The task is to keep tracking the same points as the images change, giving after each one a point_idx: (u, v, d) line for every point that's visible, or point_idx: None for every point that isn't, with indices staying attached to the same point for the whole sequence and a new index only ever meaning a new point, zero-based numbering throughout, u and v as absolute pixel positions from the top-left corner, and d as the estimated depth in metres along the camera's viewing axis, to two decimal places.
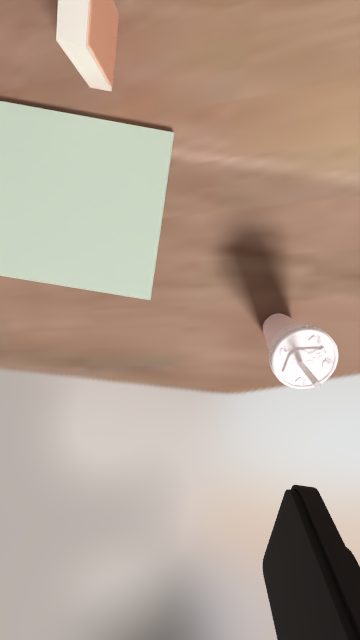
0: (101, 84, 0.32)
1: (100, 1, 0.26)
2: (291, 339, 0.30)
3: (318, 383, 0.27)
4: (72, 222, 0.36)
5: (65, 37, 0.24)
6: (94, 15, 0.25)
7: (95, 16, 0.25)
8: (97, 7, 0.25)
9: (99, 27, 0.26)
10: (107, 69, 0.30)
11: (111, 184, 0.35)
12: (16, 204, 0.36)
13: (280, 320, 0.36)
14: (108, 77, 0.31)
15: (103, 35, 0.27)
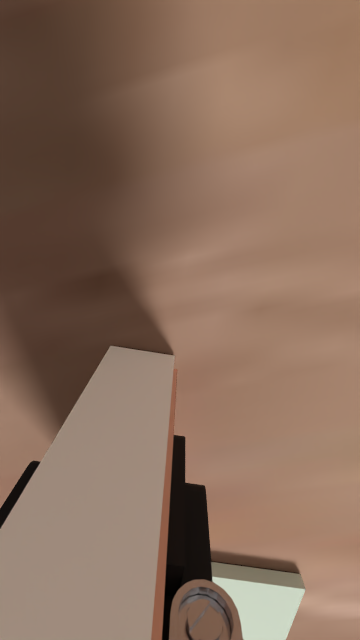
0: None
1: None
2: None
3: None
4: None
5: None
6: None
7: None
8: None
9: None
10: None
11: None
12: None
13: None
14: None
15: None
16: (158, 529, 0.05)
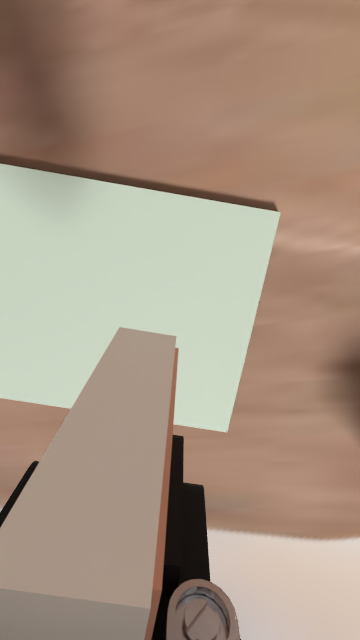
0: None
1: None
2: None
3: None
4: None
5: None
6: None
7: None
8: None
9: None
10: None
11: (181, 283, 0.24)
12: (41, 309, 0.25)
13: None
14: None
15: None
16: (163, 458, 0.06)
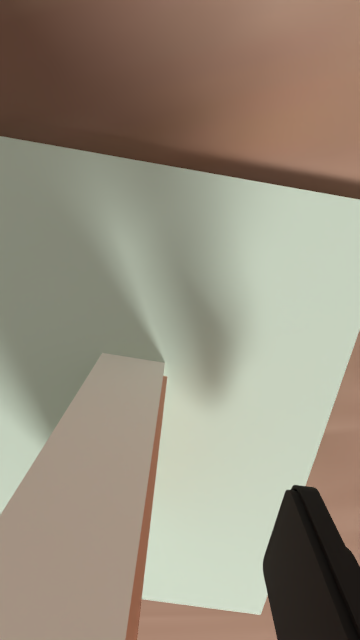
0: None
1: None
2: None
3: None
4: None
5: None
6: None
7: None
8: None
9: None
10: None
11: (175, 358, 0.11)
12: None
13: None
14: None
15: None
16: (138, 536, 0.05)
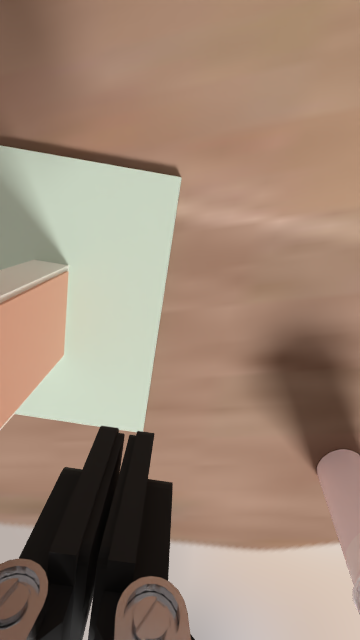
0: None
1: (20, 338, 0.15)
2: None
3: None
4: None
5: None
6: (6, 380, 0.14)
7: (8, 376, 0.15)
8: (12, 358, 0.15)
9: (22, 366, 0.16)
10: (49, 363, 0.20)
11: (74, 262, 0.20)
12: None
13: (357, 485, 0.22)
14: (53, 365, 0.20)
15: (34, 354, 0.17)
16: (17, 287, 0.14)
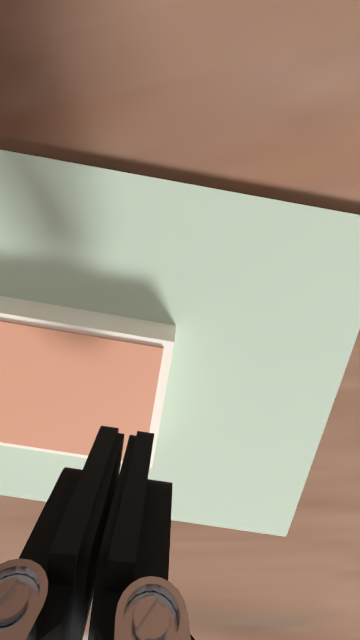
0: None
1: (10, 370, 0.14)
2: None
3: None
4: None
5: None
6: None
7: None
8: None
9: (15, 403, 0.14)
10: None
11: (231, 330, 0.15)
12: None
13: None
14: None
15: (45, 407, 0.14)
16: (14, 314, 0.13)
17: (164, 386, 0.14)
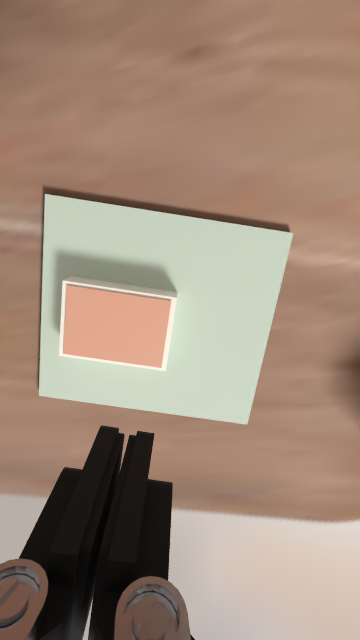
0: None
1: (91, 314, 0.26)
2: None
3: None
4: None
5: None
6: (74, 330, 0.26)
7: (77, 330, 0.26)
8: (82, 322, 0.26)
9: (92, 333, 0.26)
10: (133, 357, 0.27)
11: (208, 294, 0.28)
12: None
13: None
14: (139, 363, 0.27)
15: (108, 335, 0.26)
16: (94, 284, 0.25)
17: (172, 322, 0.26)
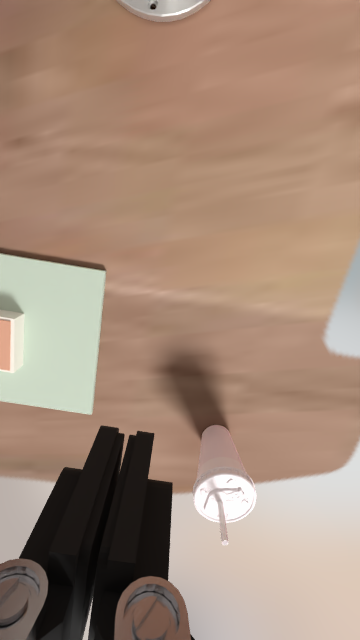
0: None
1: None
2: (210, 482, 0.32)
3: (226, 541, 0.28)
4: None
5: None
6: None
7: None
8: None
9: None
10: None
11: (48, 315, 0.36)
12: None
13: (211, 442, 0.37)
14: None
15: None
16: None
17: (13, 337, 0.35)
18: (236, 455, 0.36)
